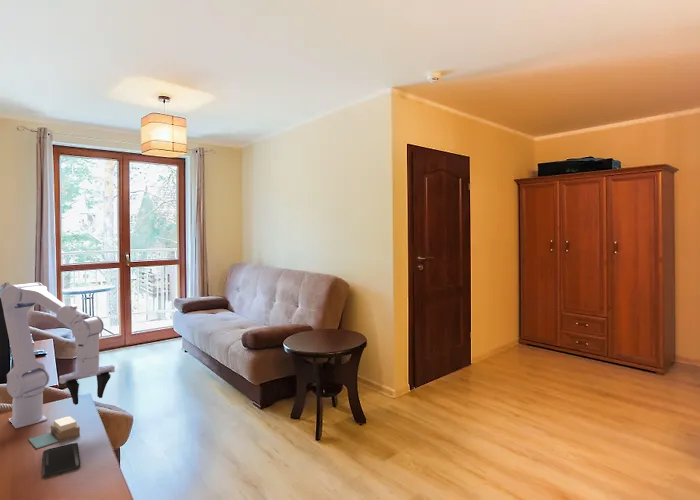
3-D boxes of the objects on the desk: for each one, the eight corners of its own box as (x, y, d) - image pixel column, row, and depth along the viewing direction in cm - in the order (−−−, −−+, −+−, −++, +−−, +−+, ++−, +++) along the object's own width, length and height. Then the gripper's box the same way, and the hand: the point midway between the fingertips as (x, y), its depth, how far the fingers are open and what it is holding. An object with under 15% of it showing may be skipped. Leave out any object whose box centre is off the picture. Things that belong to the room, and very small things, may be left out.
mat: (28, 440, 116) (28, 438, 116) (49, 433, 120) (49, 432, 120) (36, 449, 111) (36, 448, 111) (58, 442, 115) (58, 441, 115)
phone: (77, 442, 113) (80, 465, 101) (77, 445, 113) (80, 470, 101) (42, 450, 109) (41, 476, 97) (42, 454, 109) (41, 481, 97)
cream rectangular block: (53, 425, 120) (53, 420, 120) (69, 420, 123) (69, 415, 123) (60, 431, 116) (60, 426, 116) (76, 426, 119) (76, 421, 119)
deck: (50, 433, 120) (50, 424, 120) (70, 427, 124) (70, 419, 124) (59, 441, 115) (59, 433, 115) (79, 435, 119) (79, 427, 119)
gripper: (64, 364, 115) (64, 411, 116) (118, 354, 127) (118, 396, 127) (56, 360, 120) (56, 404, 120) (109, 350, 131) (109, 391, 131)
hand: (88, 400), depth 124 cm, fingers open, 6 cm apart
